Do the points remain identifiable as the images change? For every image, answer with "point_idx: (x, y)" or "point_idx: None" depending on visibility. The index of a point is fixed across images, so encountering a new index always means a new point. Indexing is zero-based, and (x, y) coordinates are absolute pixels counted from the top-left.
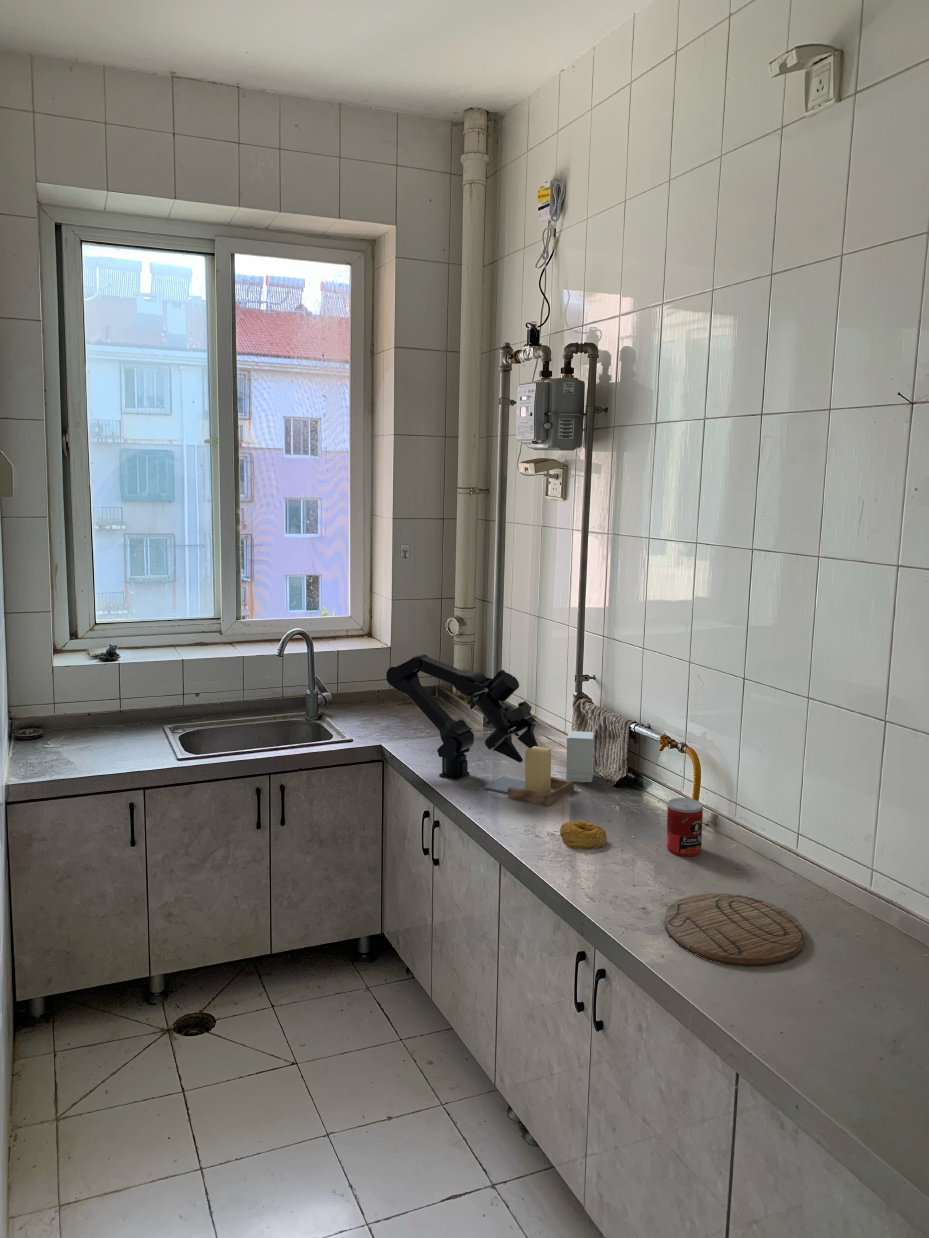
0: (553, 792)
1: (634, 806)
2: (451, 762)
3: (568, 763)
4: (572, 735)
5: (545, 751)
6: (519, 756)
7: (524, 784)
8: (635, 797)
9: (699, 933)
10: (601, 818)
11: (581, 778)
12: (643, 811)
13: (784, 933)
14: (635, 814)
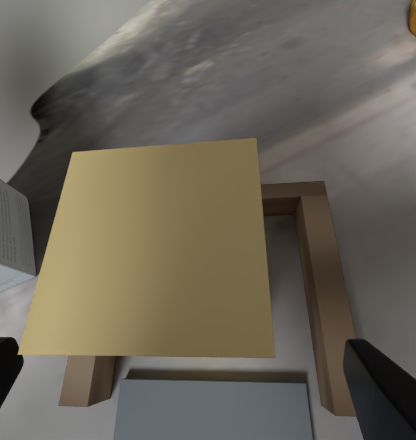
0: (262, 191)
1: (167, 49)
2: None
3: None
4: None
5: (169, 150)
6: (405, 374)
7: (161, 415)
8: (106, 72)
9: None
10: (291, 58)
11: (21, 220)
12: (188, 27)
13: None
14: (216, 29)
